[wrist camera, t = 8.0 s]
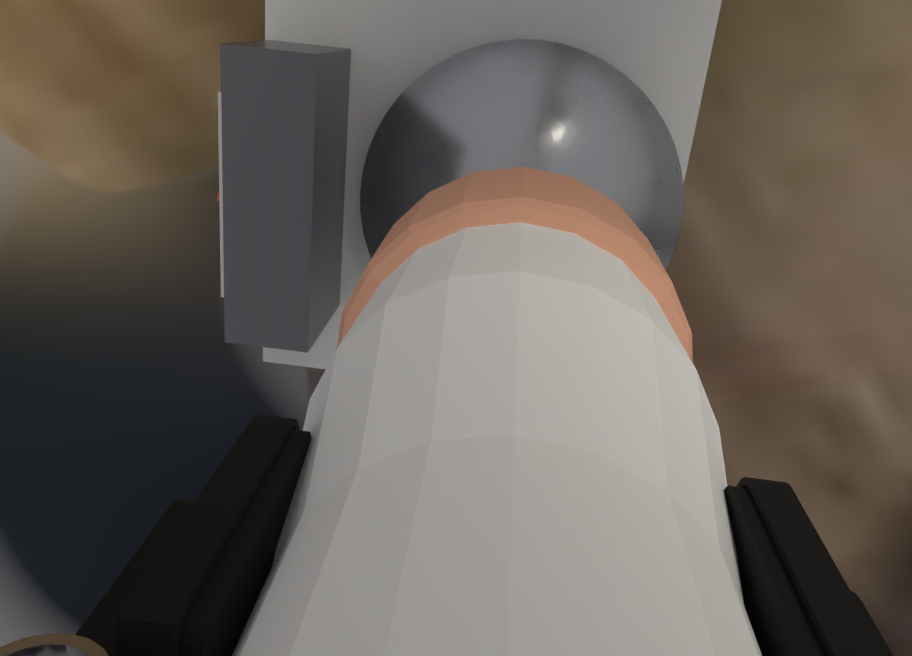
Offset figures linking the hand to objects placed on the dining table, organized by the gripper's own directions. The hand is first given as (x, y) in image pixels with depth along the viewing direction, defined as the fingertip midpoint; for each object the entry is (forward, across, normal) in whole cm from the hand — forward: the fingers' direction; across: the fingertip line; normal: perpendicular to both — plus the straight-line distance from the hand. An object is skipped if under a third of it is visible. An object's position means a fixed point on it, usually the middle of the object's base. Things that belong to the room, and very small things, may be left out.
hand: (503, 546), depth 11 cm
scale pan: (+21, 0, 0) cm, 21 cm away
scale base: (+24, +2, 0) cm, 24 cm away
